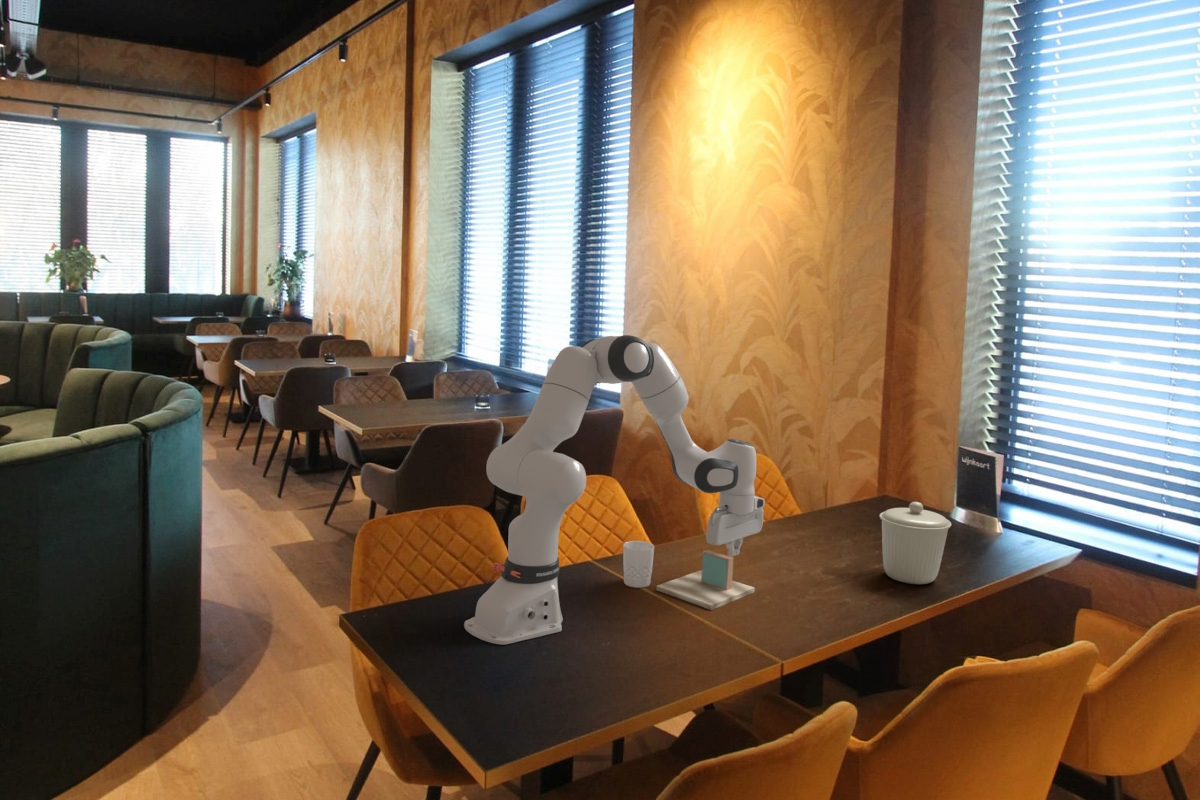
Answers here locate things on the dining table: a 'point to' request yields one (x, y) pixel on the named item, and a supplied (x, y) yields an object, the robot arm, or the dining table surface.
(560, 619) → the robot arm
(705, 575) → the block
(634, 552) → the white cup
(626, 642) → the dining table surface
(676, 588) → the board
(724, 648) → the dining table surface
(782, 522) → the dining table surface
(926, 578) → the canister
